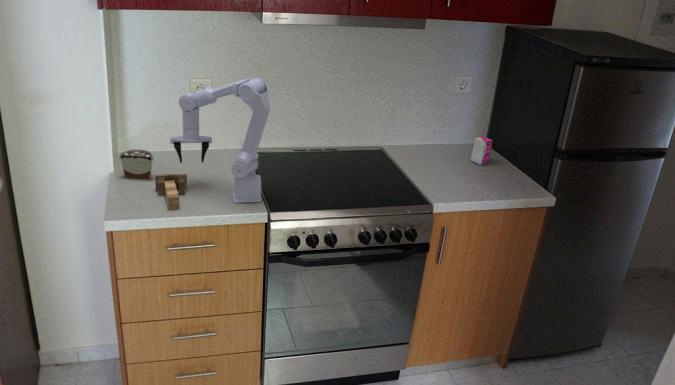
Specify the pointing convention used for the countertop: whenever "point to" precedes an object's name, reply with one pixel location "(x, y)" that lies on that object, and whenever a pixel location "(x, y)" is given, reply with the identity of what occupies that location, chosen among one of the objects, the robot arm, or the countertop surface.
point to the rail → (171, 195)
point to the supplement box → (481, 150)
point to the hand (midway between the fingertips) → (191, 161)
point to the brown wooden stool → (178, 179)
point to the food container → (137, 164)
